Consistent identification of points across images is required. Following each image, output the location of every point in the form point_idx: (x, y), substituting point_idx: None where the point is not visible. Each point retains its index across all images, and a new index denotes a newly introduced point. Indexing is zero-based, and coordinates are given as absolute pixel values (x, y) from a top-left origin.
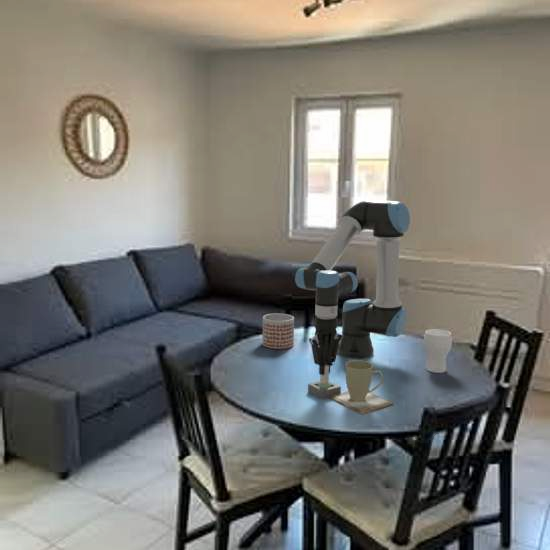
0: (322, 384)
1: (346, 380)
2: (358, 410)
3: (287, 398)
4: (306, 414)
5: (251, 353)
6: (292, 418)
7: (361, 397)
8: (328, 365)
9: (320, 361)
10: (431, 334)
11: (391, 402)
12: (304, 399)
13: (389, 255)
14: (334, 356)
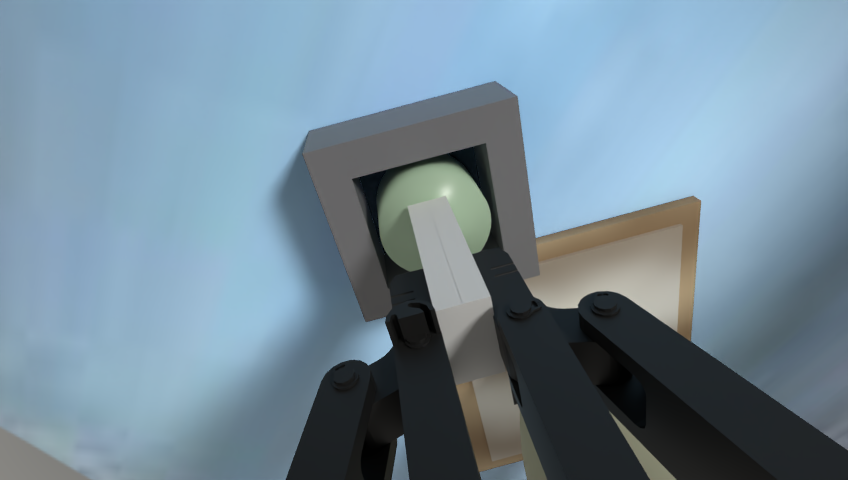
0: (408, 244)
1: (532, 454)
2: (477, 453)
3: (102, 202)
4: (196, 426)
5: None
6: (102, 451)
7: None
8: (503, 365)
9: (379, 475)
10: None
11: None
12: (239, 250)
13: None
14: (643, 426)
